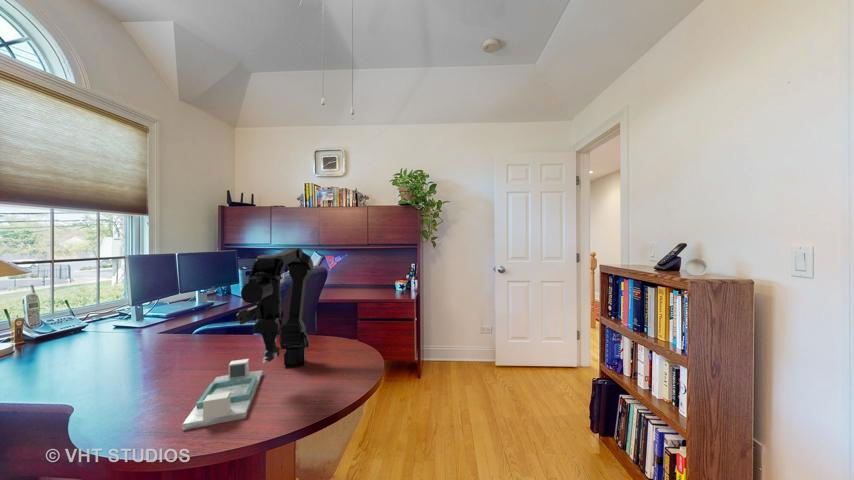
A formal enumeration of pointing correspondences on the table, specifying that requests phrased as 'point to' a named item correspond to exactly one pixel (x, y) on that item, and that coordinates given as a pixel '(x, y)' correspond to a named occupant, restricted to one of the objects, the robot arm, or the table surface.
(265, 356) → the push button
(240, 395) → the teal-edged white tray
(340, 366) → the table surface
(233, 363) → the white padded clamp jaws
